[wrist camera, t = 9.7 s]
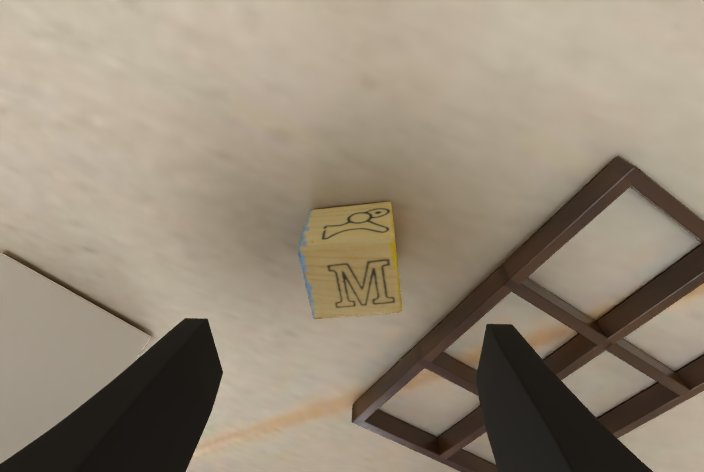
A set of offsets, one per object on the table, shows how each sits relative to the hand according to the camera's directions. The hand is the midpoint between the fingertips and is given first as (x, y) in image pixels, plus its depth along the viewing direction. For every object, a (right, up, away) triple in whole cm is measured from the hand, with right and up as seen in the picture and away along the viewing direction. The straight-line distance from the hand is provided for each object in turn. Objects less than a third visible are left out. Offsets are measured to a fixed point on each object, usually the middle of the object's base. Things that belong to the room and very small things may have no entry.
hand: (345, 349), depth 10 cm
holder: (+9, -3, +8) cm, 12 cm away
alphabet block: (0, +3, +5) cm, 6 cm away
